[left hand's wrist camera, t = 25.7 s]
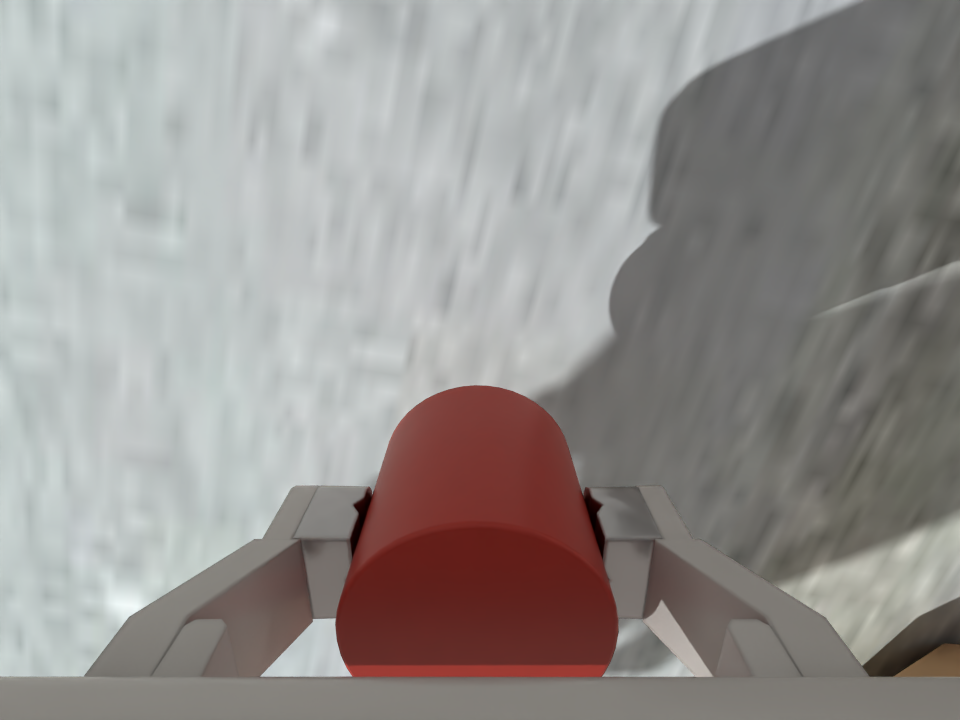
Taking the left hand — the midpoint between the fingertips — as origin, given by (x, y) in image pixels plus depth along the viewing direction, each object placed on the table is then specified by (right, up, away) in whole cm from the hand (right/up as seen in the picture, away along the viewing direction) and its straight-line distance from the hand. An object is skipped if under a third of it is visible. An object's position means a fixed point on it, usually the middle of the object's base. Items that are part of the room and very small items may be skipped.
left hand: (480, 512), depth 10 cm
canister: (0, +1, +2) cm, 2 cm away
